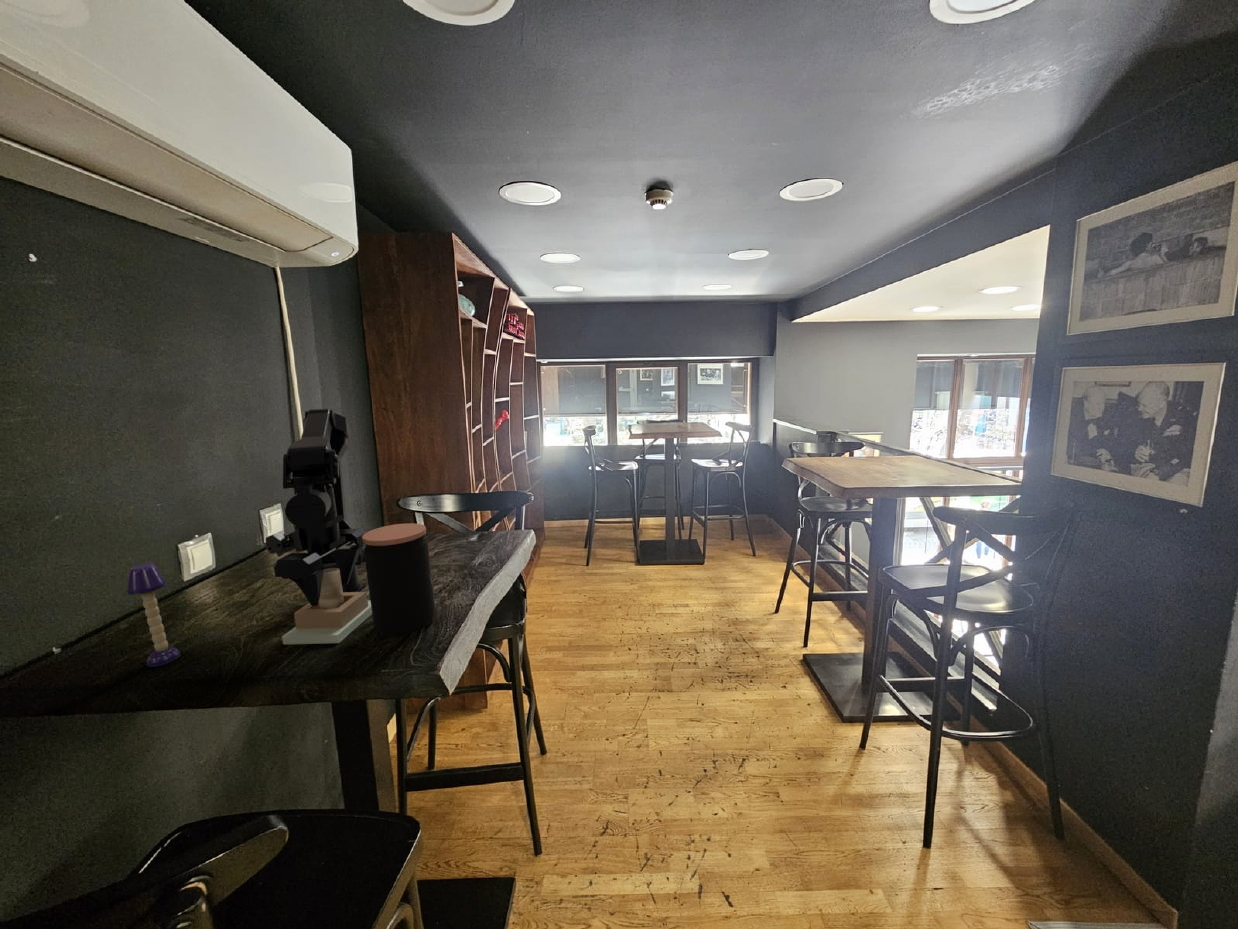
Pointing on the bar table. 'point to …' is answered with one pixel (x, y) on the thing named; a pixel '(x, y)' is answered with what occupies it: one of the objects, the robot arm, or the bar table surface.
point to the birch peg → (331, 589)
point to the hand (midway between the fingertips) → (330, 594)
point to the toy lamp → (152, 610)
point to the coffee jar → (399, 578)
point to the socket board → (329, 621)
